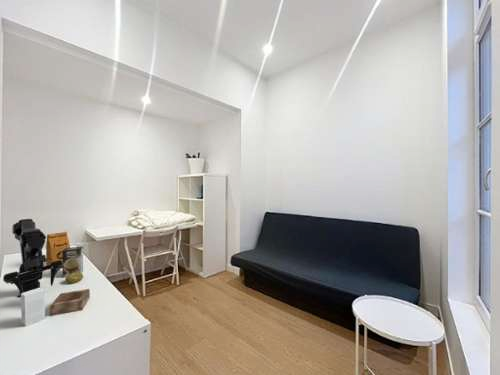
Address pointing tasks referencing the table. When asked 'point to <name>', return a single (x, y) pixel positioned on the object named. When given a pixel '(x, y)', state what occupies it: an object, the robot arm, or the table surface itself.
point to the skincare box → (32, 306)
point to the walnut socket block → (70, 302)
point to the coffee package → (56, 246)
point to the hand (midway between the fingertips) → (37, 290)
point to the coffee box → (72, 261)
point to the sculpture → (71, 279)
